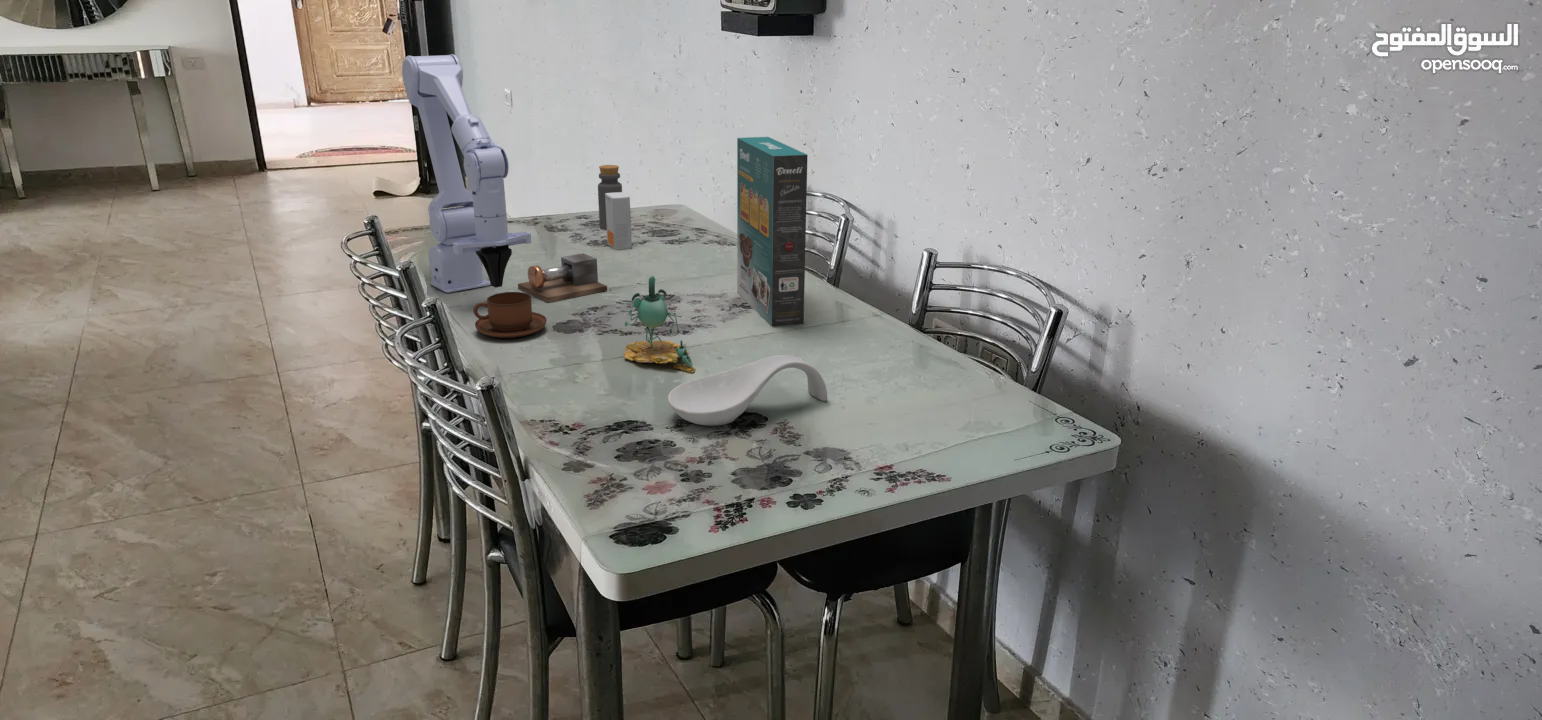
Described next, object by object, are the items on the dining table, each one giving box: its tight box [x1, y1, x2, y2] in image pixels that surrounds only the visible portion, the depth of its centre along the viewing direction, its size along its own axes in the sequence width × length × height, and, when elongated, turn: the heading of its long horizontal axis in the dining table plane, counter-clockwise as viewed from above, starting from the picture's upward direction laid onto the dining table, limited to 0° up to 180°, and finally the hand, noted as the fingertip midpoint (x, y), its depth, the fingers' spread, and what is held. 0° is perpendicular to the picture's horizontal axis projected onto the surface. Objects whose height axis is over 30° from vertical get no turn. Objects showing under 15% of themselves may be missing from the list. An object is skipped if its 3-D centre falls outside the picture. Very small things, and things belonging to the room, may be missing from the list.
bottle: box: [597, 164, 623, 230], centre depth 248 cm, size 6×6×15 cm
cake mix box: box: [736, 136, 808, 328], centre depth 185 cm, size 22×6×30 cm, turn 18°
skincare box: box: [605, 191, 633, 251], centre depth 230 cm, size 6×4×12 cm
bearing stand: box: [517, 253, 608, 304], centre depth 198 cm, size 13×12×6 cm
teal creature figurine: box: [623, 276, 696, 374], centre depth 162 cm, size 10×18×15 cm, turn 31°
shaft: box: [527, 265, 573, 289], centre depth 197 cm, size 9×4×4 cm, turn 130°
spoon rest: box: [667, 354, 828, 427], centre depth 143 cm, size 24×12×7 cm, turn 119°
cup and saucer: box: [473, 291, 548, 339], centre depth 174 cm, size 12×12×6 cm
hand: (496, 286), depth 190 cm, fingers closed
